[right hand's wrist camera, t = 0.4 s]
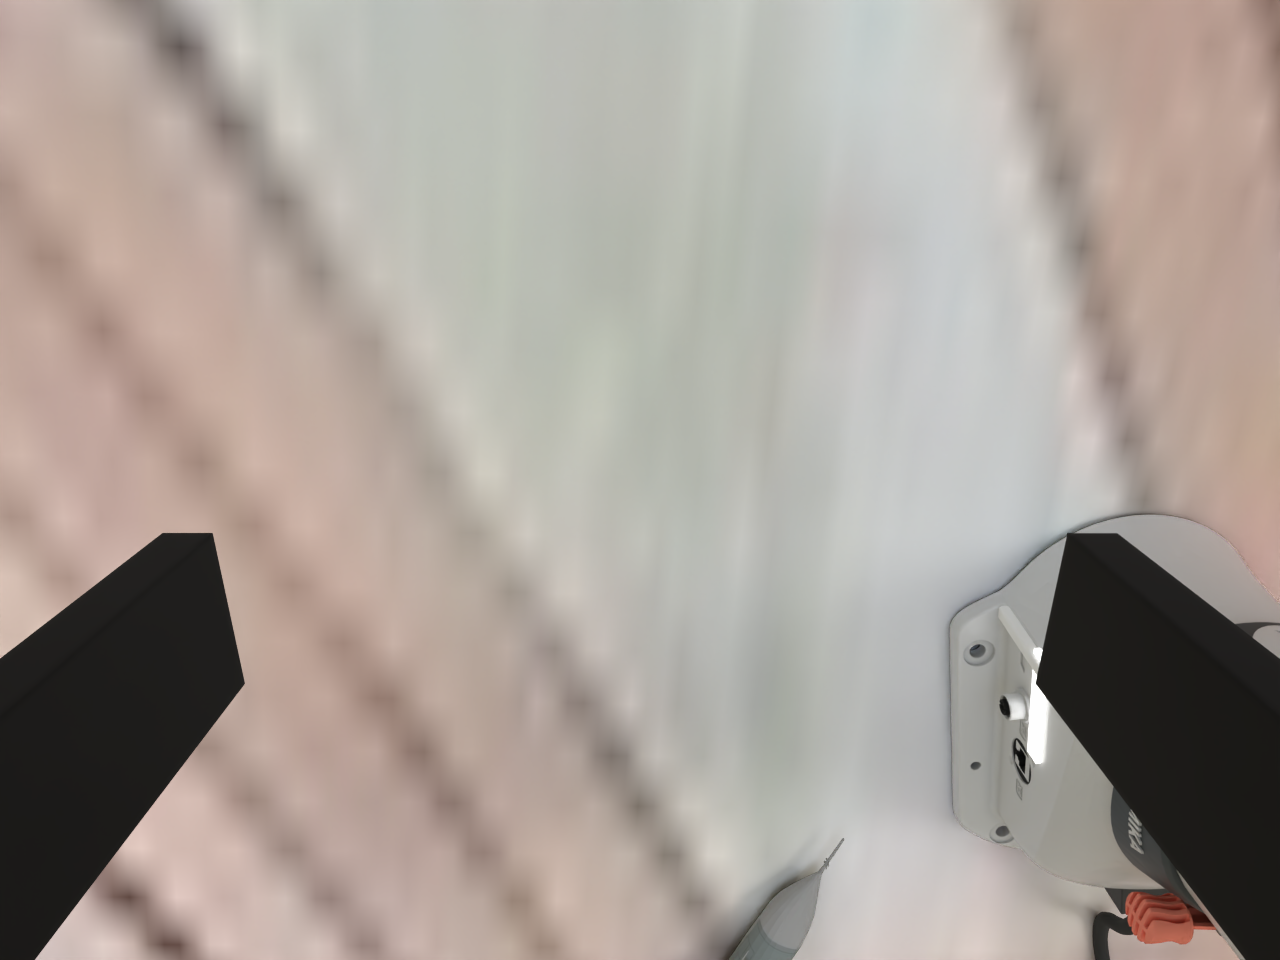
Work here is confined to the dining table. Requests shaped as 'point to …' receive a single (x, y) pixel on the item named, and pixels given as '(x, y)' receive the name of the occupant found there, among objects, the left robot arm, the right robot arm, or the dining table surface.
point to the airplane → (783, 921)
